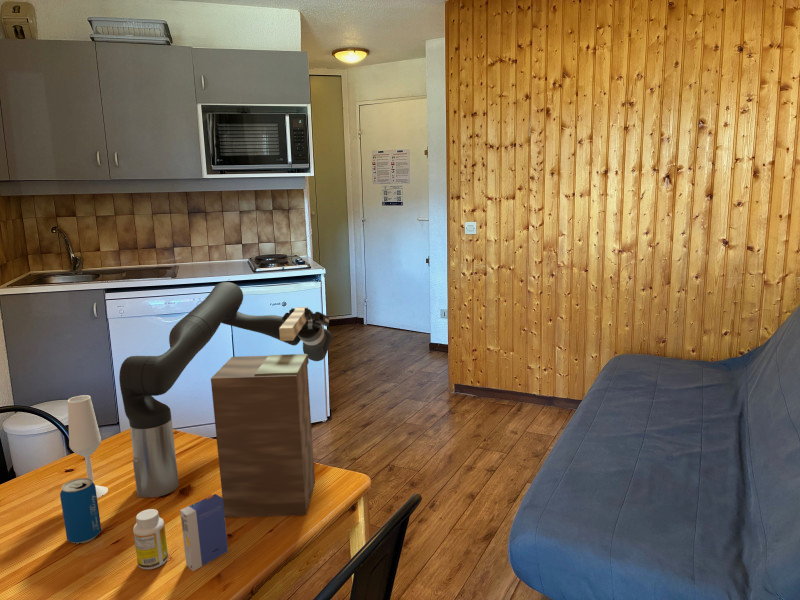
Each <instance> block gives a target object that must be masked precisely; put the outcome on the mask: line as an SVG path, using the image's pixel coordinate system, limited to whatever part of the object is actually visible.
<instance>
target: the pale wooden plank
mask: <svg viewBox="0 0 800 600" xmlns="http://www.w3.org/2000/svg"><path fill="white" fill-rule="evenodd" d="M305 308H308V309H309V307H308V306H297V307H296V308H294V309H295V311H294V312H293V313H292V314H291V315H290V316H289V317H288V319H287V320H286V321H285V322H284V323H283V324H282V326H281V327H280V328H279V333H280V340H279V341H280V342H283V341H293V340H294V338H295V337H296V335H297V334H298V333H299V331H300V330H301V328H302V327H303V325H304V324H305V322H306V321H307V319H306V317H305Z"/></svg>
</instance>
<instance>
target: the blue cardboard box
mask: <svg viewBox="0 0 800 600" xmlns="http://www.w3.org/2000/svg"><path fill="white" fill-rule="evenodd" d="M179 512H180V519H181V528H182V529H181V531H182V536H183V539H182V540H183V545H184V546H183V547H184V554H185V555H184V556H185V564H186V566H187V567H188V569H189V570H190V571H192V572H195V570H198V569H199V568H201V567H204V566H205V565H206V564H208V563H210V562H212V561H213V560H215V559H217V558H219V557H221V556H223V555H225V554H227V553H228V552H229V546H228V537H227V526H226V518H225V514H224V504H223V498H222V496H220V495H218V494H216V493H214V494H209V495H207V496H206V497H205V498H204V499H201V500H199V501H196V502H195V503H193V504H190V505H188V506H186V507H184V508H181V509H180V510H179Z"/></svg>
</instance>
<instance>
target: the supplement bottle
mask: <svg viewBox="0 0 800 600" xmlns="http://www.w3.org/2000/svg"><path fill="white" fill-rule="evenodd" d="M135 519H136V523H135V524H134V526H133V528H132V532H133V539H134V546H135V553H136V554H135V555H136V561H137V562H136V563H137V566H138V567H139V568H140V569H142V570H153V569H154V570H155V569H157V568H159V567H161V566H163V565H164V564H165V563H166V562H167V560H168V559H169V551H168V543H167V534H166V529H165V528H166V527H165V521H164V519H163V518H162V517H160V515H159V511H158V510H157V509H156V508H154V509H153V508H147V509H145V510H142V511H140V512H139V513H137V515H136V517H135Z"/></svg>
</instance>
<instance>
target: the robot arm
mask: <svg viewBox="0 0 800 600" xmlns="http://www.w3.org/2000/svg"><path fill="white" fill-rule="evenodd" d="M243 300H244V293H243V290H242V289H241V287H240V286H239V285H238V284H236V283H234V282H230V281H223V282H220V283H217V284H215V285H214V287H213V288H212V290H211V291H210V292H209V294H208V295H207V296H206V297H205V299H204V300H202V301H201V302H200V303H199V304H197V306H195V307H194V308H193V309H191V310H190V311H189V313H188V314H186V315H184V317H182V318H181V319H180V320H179V321H178V322H177V323H176V324H175V325H174V326H173V327H172V328H171V330H170V332H169V335H168V342H169V343H168V344H169V347H170V348H169V349H168V350H167V351H165V352H164V353H163V354H161V355H131V356H128V357H127V358H125V359H124V361H122V363H121V366H120V368H119V375H118V378H119V379H118V380H119V388H120V393H121V397H122V403H123V408H124V414H125V416H126V418H127V419H128V423H129V431H130V437H131V445H132V453H133V457H132V464H133V473H134V481H135V489H136V497H137V498H158V497H162V496H165V495H168V494H170V493H172V492H174V491H175V490H176V489H178V487H179V484H180V483H179V474H178V463H177V455H176V447H175V438H174V437H175V436H174V429H173V428H174V427H173V420H172V412H171V408H170V406H168V405H167V404H165V403H163V402H161V401H159V400H158V399H156V398H155V397H156V396H162V395H165V394H166V393H167V392H168V391H169V390H170V389H172V387H173V386H174V384H175V383H176V381H177V380H178V379H179V378H180V376H181V374H182V373H183V372H184V371H185V369H186V367H187V366H188V365H189V364H190V363H191V361H192V360H193V359H194V357H196V355H198V353H199V352H200V351H201V350H203V348H205V347H206V345H207V344H208V343H209V342H210V341H211V339H212V338H213V337H214V335H215V334H216V332H217V330H218V329H219V327H220V325H221V324H223V325H227V326H232V327H234V328H239V329H242V330H247V331H251V332H255V333H258V334H261V335H265V336H267V337H268V336H269V337H270V338H273V339H276V340H278V341H280V333H279V328H280V327H281V326H282V324H283V323H284V322H285V321H286V320H287V319H288V317H289V316H290V315H291V314H292V313H293V312H294V311H295V309H296V308H294V307H291V308H290V309H289V311H288V312H285V313H284V315H283V316H281V315H276V314H275V315H274V314H273V315H272V314H270V315H269V314H268V315H252V314H250V315H249V314H245V313H243V312H240V311H239V309H240V308H241V305H242V304H243ZM305 317H306V319H307V321H306V322H305V324H304V325H303V327H302V328H301V330H300V331H299V333H298V334H297V335H296V337H295V338H294V340H293V341H282V342H283V343H285V344H288V345H291V346H297V345H298V344H299V343H300V342H302V352H303V354H308V360H310V361H313V362H320V361H322V360H324V359H325V358H326V356H327V354H328V350H329V348H330V345H331V343H332V340H333V335H332V332H331V331H330V330H328V329H326V328H324V326H325V327H329V325H330V317H329V316H328V315H327V314H324V313H322V312H320V311H315V312H314V313H313V311H312V309H310V308H309V307H308V308H305Z"/></svg>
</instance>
